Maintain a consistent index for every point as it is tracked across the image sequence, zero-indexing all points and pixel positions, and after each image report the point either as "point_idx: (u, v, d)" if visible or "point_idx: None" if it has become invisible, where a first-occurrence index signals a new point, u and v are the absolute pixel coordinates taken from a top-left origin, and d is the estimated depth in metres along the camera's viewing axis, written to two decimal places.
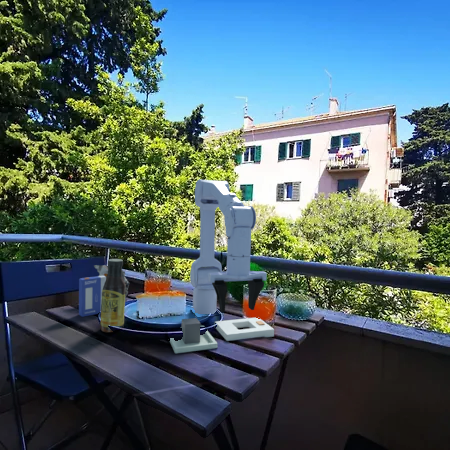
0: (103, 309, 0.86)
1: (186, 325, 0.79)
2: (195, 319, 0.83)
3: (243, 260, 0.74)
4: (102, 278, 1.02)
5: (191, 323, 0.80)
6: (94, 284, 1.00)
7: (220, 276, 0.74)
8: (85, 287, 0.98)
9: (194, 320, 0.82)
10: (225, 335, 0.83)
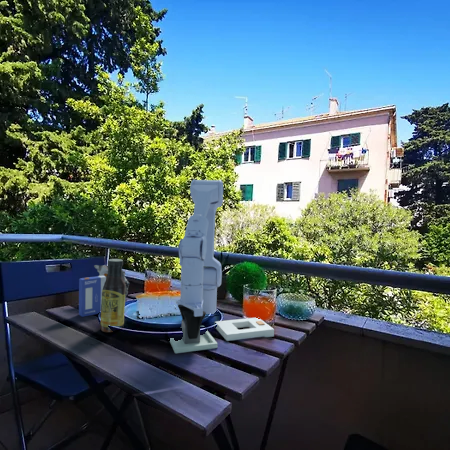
0: (103, 309, 0.86)
1: (186, 325, 0.79)
2: None
3: (181, 287, 0.80)
4: (102, 278, 1.02)
5: None
6: (94, 284, 1.00)
7: None
8: (85, 287, 0.98)
9: None
10: (225, 335, 0.83)
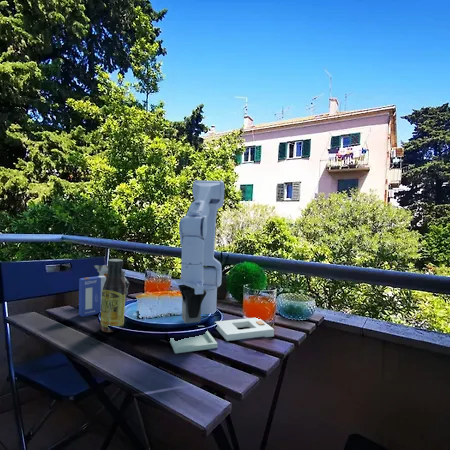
0: (103, 309, 0.86)
1: None
2: None
3: (181, 266, 0.80)
4: (102, 278, 1.02)
5: None
6: (94, 284, 1.00)
7: None
8: (85, 287, 0.98)
9: None
10: (225, 335, 0.83)
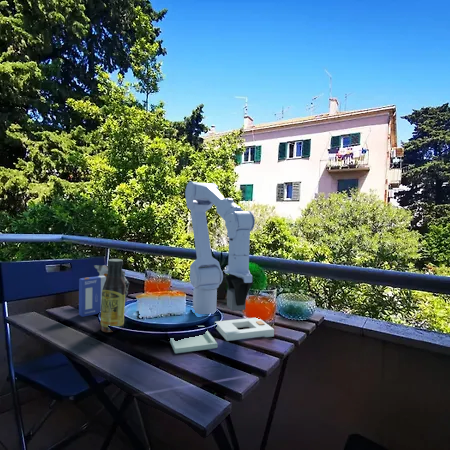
0: (103, 309, 0.86)
1: (233, 293, 0.85)
2: None
3: (229, 257, 0.86)
4: (102, 278, 1.02)
5: None
6: (94, 284, 1.00)
7: (227, 268, 0.92)
8: (85, 287, 0.98)
9: None
10: (225, 335, 0.83)
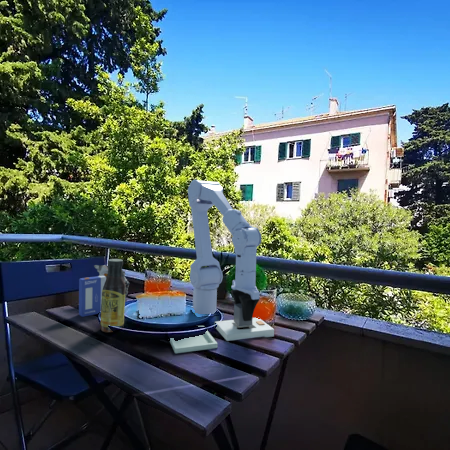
0: (103, 309, 0.86)
1: (240, 309, 0.86)
2: None
3: (236, 273, 0.87)
4: (102, 278, 1.02)
5: None
6: (94, 284, 1.00)
7: (234, 283, 0.93)
8: (85, 287, 0.98)
9: None
10: (225, 335, 0.83)
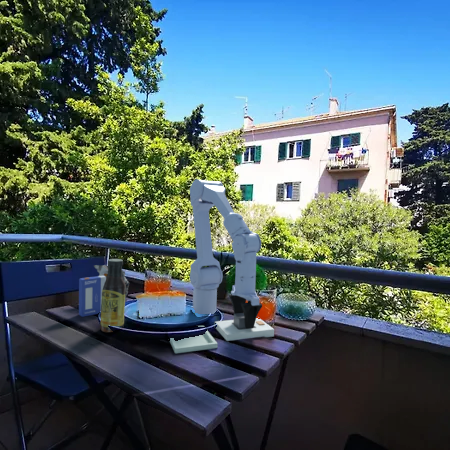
0: (103, 309, 0.86)
1: (240, 319, 0.87)
2: None
3: (236, 279, 0.88)
4: (102, 278, 1.02)
5: None
6: (94, 284, 1.00)
7: (233, 288, 0.93)
8: (85, 287, 0.98)
9: None
10: (225, 335, 0.83)
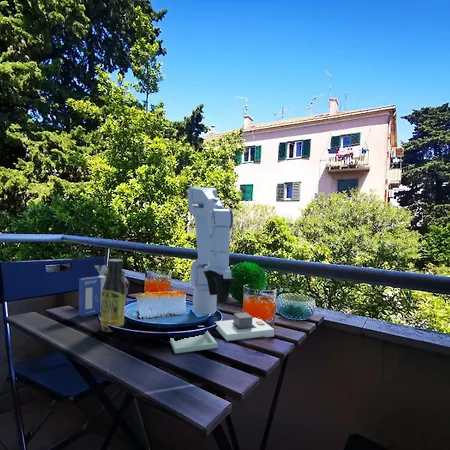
0: (103, 309, 0.86)
1: (240, 319, 0.87)
2: (246, 313, 0.90)
3: (209, 254, 0.88)
4: (102, 278, 1.02)
5: (244, 317, 0.88)
6: (94, 284, 1.00)
7: None
8: (85, 287, 0.98)
9: (245, 314, 0.90)
10: (225, 335, 0.83)
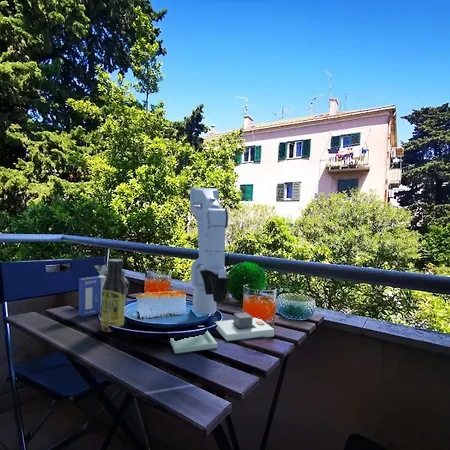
0: (103, 309, 0.86)
1: (240, 319, 0.87)
2: (246, 313, 0.90)
3: (205, 253, 0.88)
4: (102, 278, 1.02)
5: (244, 317, 0.88)
6: (94, 284, 1.00)
7: None
8: (85, 287, 0.98)
9: (245, 314, 0.90)
10: (225, 335, 0.83)
